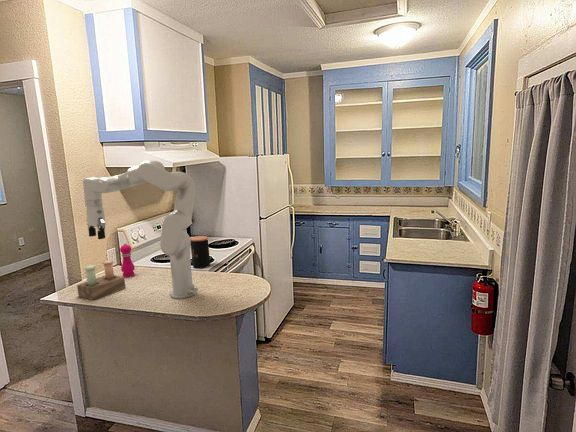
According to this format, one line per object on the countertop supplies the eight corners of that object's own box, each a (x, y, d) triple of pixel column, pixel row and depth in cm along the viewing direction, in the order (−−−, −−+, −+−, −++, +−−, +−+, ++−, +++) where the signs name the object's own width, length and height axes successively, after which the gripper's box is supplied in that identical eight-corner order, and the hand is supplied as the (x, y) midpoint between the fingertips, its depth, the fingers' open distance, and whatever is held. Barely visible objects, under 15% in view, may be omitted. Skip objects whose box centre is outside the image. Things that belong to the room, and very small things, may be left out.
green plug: (99, 286, 185) (97, 265, 183) (91, 289, 181) (88, 268, 179) (93, 284, 187) (91, 264, 185) (84, 287, 183) (82, 267, 181)
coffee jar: (191, 265, 230) (188, 237, 227) (208, 262, 235) (205, 235, 232) (194, 269, 221) (191, 240, 218) (211, 267, 225) (209, 238, 222)
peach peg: (117, 279, 194) (114, 260, 192) (109, 282, 189) (106, 263, 188) (111, 278, 196) (108, 259, 194) (103, 281, 192) (100, 262, 190)
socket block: (125, 287, 194) (124, 276, 193) (93, 300, 178) (92, 288, 177) (110, 284, 200) (109, 274, 199) (78, 296, 184) (77, 285, 183)
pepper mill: (119, 276, 213) (115, 243, 210) (129, 273, 219) (125, 240, 216) (127, 278, 210) (123, 244, 206) (138, 274, 216) (134, 241, 213)
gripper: (110, 203, 176) (113, 238, 179) (93, 201, 187) (96, 233, 190) (93, 205, 171) (97, 241, 173) (78, 202, 181) (81, 236, 184)
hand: (97, 237), depth 182 cm, fingers open, 9 cm apart
